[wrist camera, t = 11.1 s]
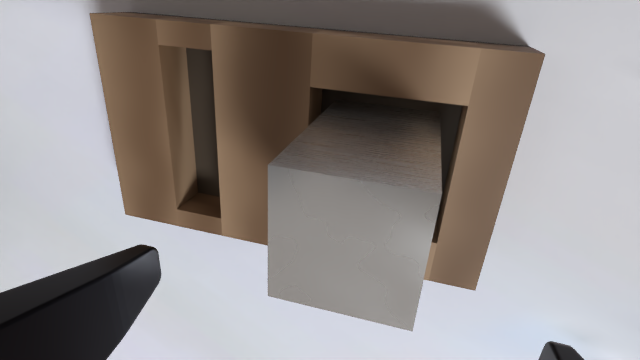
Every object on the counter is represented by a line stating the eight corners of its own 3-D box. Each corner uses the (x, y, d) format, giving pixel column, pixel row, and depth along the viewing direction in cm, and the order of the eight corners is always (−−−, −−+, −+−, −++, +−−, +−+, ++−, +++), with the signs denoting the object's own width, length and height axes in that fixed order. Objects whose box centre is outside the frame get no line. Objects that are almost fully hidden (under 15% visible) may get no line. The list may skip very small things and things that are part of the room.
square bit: (329, 189, 19) (268, 295, 12) (336, 99, 17) (267, 164, 10) (422, 205, 18) (412, 331, 11) (440, 112, 16) (441, 194, 9)
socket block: (155, 194, 23) (125, 214, 21) (129, 12, 19) (89, 13, 17) (470, 257, 19) (475, 290, 17) (529, 46, 15) (545, 54, 13)
